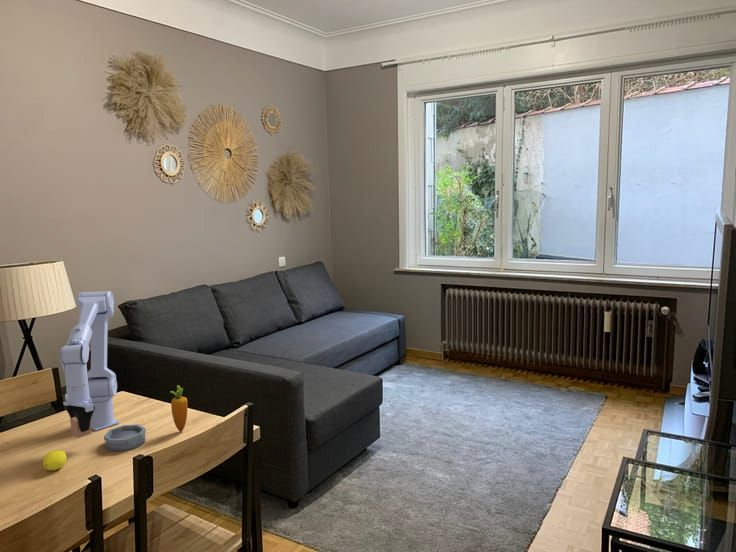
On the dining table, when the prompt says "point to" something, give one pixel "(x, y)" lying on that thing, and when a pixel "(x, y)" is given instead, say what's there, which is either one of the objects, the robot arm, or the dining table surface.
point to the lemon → (54, 460)
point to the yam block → (76, 429)
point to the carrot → (179, 409)
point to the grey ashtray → (125, 438)
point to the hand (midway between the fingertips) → (81, 428)
